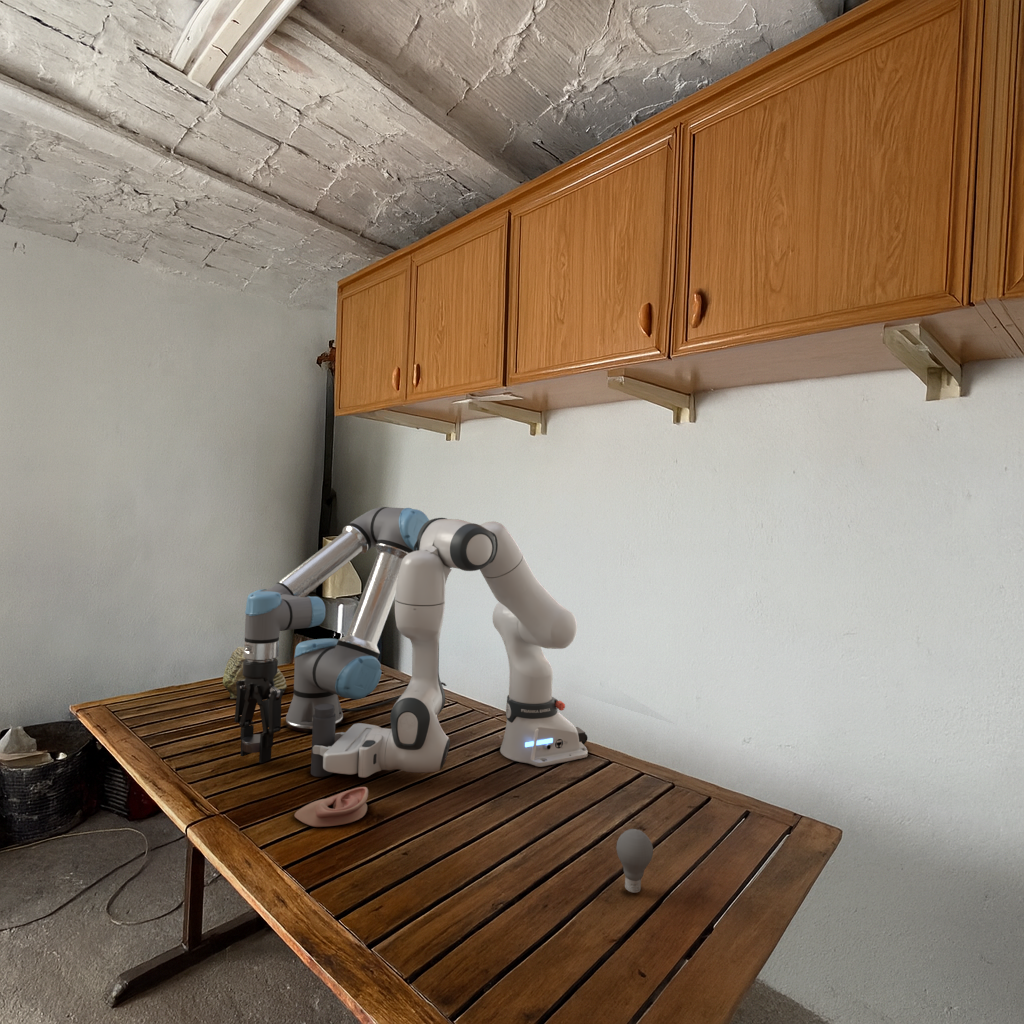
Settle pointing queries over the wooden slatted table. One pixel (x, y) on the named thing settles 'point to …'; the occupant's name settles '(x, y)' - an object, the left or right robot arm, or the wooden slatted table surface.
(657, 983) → the wooden slatted table surface
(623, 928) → the wooden slatted table surface
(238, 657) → the fossil
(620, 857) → the light bulb
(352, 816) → the anatomical model
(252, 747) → the lid
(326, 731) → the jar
